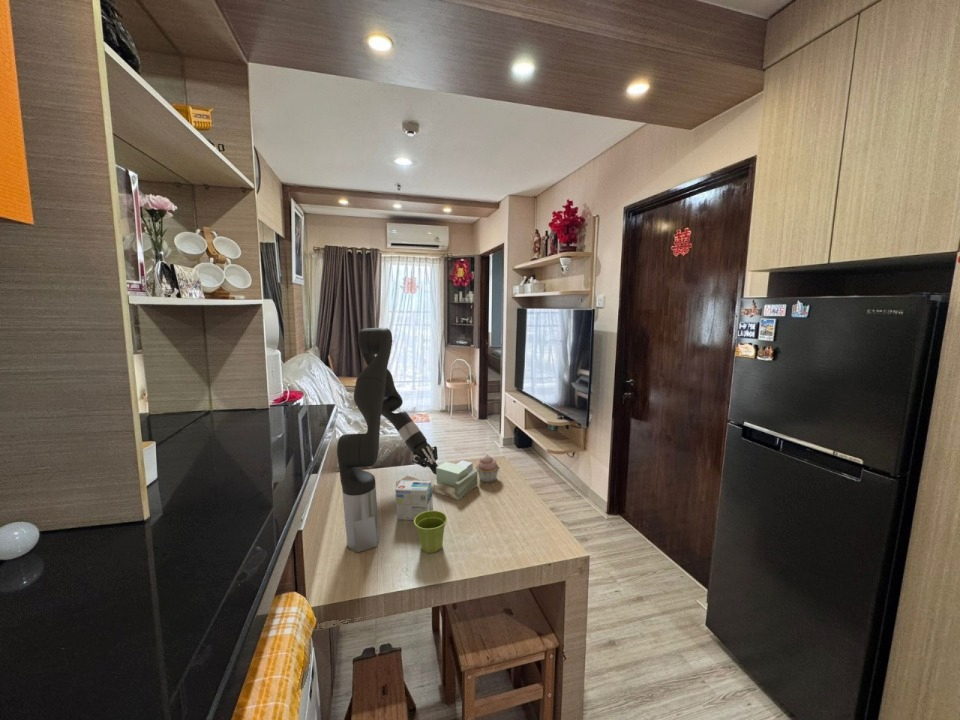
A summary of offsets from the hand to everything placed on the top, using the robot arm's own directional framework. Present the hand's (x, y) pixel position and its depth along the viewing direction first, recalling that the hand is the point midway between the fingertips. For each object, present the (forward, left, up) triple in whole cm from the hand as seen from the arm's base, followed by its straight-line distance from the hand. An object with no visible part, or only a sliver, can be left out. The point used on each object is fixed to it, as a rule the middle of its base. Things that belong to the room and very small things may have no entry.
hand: (438, 472), depth 152 cm
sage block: (-6, -3, -4) cm, 8 cm away
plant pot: (-34, +16, -4) cm, 38 cm away
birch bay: (-8, -4, -4) cm, 9 cm away
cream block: (-4, +13, -4) cm, 14 cm away
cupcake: (-6, -18, -4) cm, 20 cm away
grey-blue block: (+1, -11, -4) cm, 12 cm away
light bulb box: (-17, +15, -4) cm, 22 cm away
